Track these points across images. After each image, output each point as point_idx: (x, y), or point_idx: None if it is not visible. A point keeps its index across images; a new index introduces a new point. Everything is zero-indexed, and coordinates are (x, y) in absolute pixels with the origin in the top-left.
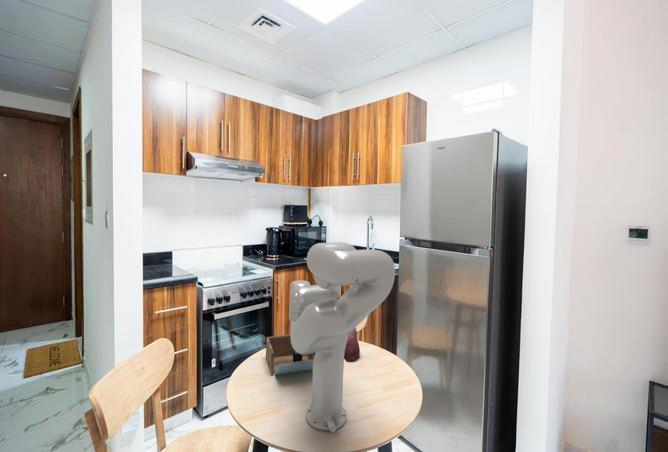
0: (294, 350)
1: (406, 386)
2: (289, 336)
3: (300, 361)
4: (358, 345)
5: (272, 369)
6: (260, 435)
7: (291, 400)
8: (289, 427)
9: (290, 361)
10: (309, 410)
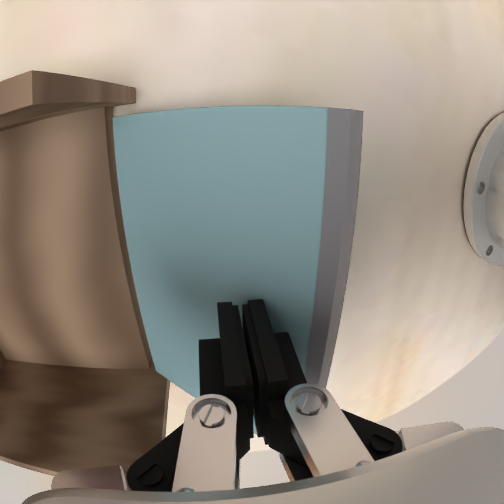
0: (240, 456)
1: None
2: None
3: (327, 347)
4: None
5: (167, 399)
6: (457, 372)
7: (383, 297)
8: (482, 310)
9: (15, 263)
10: (485, 248)
